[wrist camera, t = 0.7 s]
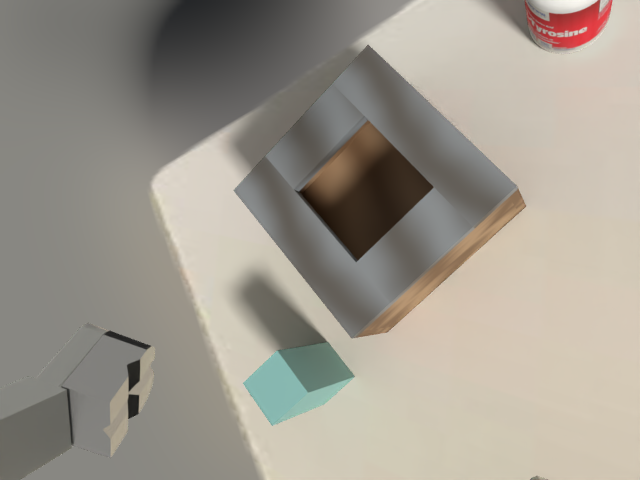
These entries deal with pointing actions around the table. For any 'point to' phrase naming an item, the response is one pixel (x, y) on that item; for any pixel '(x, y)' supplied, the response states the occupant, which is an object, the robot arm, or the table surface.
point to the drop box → (377, 197)
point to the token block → (297, 381)
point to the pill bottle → (567, 23)
